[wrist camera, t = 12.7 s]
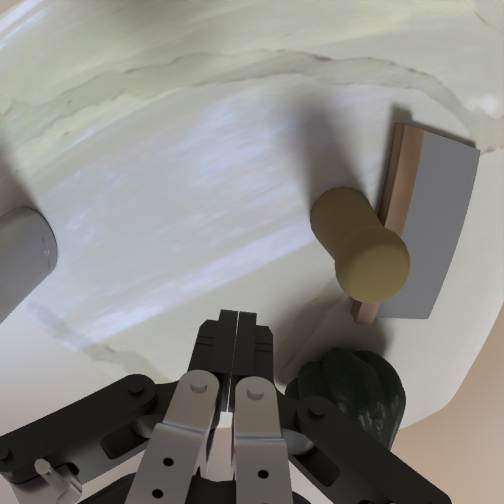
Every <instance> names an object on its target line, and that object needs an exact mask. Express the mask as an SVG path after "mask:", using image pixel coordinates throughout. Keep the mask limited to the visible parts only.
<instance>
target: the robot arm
mask: <svg viewBox="0 0 504 504" xmlns="http://www.w3.org/2000/svg"><path fill="white" fill-rule="evenodd" d="M56 262H57V246H56V242H55V238H54V236H53V233H52V231H51V229H50V227H49V226H48V224H47V223H46V221H45V220H44V219H43V217H42V216H40V215H39V214H38V213H37V212H36V211H34V210H32V209H30V208H27V207H19V208H16V209H14V210H12V211H10V212H9V213H7V214H5V215H3V216H2V217H0V324H1V323H2V322H3V321H4V320H5V319H6V318H7V316H8V315H9V314H10V313H11V312H12V311H13V310H14V309H15V308H16V307H17V306H18V305H19V304H20V303H21V302H22V301H23V300H24V298H26V297H27V296H28V295H29V294H30V293H31V292H32V291H33V290H34V289H35V288H36V287H37V286H38V285H39V284H40V283H41V282H42V281H43V280H44V279H45V278H46V277H47V276H48V275H49V274H50V273H51V272H52V271H53V270H54V268H55V266H56ZM256 317H257V313H250V312H241V311H240V312H239V319H238V311H232V310H224V309H221V311H220V316H219V320H218V321H215V320H206V321H205V322H204V323H203V324H202V325H201V326H200V328H199V332H198V335H197V339H196V342H195V346H194V349H193V353H192V357H191V360H190V364H189V367H188V371H187V373H185V374H184V375H183V376H182V377H181V378H180V380H178V381H175V382H172V383H165V384H155V383H154V382H153V380H152V379H150V378H149V377H147V376H145V375H141V374H132V375H128V376H126V377H124V378H122V379H120V380H118V381H116V382H114V383H112V384H110V385H108V386H107V387H105V388H103V389H101V390H99V391H97V392H95V393H93V394H91V395H89V396H87V397H85V398H83V399H81V400H79V401H76V402H74V403H72V404H70V405H68V406H66V407H64V408H62V409H60V410H58V411H56V412H54V413H52V414H49V415H47V416H45V417H43V418H41V419H38V420H36V421H34V422H32V423H30V424H28V425H26V426H23V427H21V428H19V429H16V430H14V431H12V432H9V433H7V434H5V435H3V436H0V474H1V475H3V477H4V478H5V479H6V480H7V481H8V482H9V483H10V484H11V487H12V489H13V491H14V493H15V495H16V497H17V499H18V501H19V503H20V504H74V503H76V502H77V501H78V500H79V499H80V497H81V495H82V485H83V484H85V483H87V482H89V481H91V480H92V479H94V478H96V477H98V476H100V475H102V474H104V473H105V472H107V471H109V470H111V469H112V468H114V467H116V466H118V465H120V464H121V463H123V462H125V461H126V460H128V459H130V458H131V457H133V456H135V455H136V454H138V453H140V452H141V451H143V450H145V449H146V450H145V453H144V455H143V457H142V460H141V463H140V465H139V468H138V470H137V472H135V473H131V474H128V475H126V476H124V477H121V478H120V479H118V480H116V481H115V482H113V483H112V484H110V485H108V486H107V487H105V488H103V489H102V490H100V491H98V492H97V493H95V494H93V495H91V496H90V497H88V498H86V499H84V500H83V501H81V502H79V503H78V504H311V503H310V502H309V501H308V500H306V499H305V498H304V497H302V496H301V495H299V494H298V493H295V492H293V491H292V488H291V479H290V471H289V462H288V460H289V461H290V462H291V463H292V464H293V465H294V466H295V467H296V468H297V469H298V470H299V471H300V472H301V473H302V474H303V475H304V476H305V477H306V478H307V479H308V480H309V481H311V483H312V484H313V485H315V486H316V487H317V488H318V489H319V490H320V491H321V492H322V493H323V494H324V495H325V496H326V497H327V498H328V499H329V500H331V501H332V502H333V503H334V504H452V502H451V500H450V498H449V497H448V495H447V494H445V493H444V492H443V491H441V490H440V489H439V488H437V487H436V486H434V485H433V484H432V483H430V482H429V481H428V480H426V479H425V478H424V477H422V476H421V475H420V474H419V473H417V472H416V471H415V470H413V469H412V468H411V467H409V466H408V465H407V464H406V463H404V462H403V461H402V460H400V459H399V458H398V457H397V456H395V455H394V454H393V453H392V452H390V451H389V450H388V449H387V448H385V447H384V446H383V445H382V444H381V443H379V442H378V441H377V440H376V439H374V438H373V437H372V436H371V435H370V434H368V433H367V432H366V431H365V430H364V429H362V428H361V427H360V426H359V425H358V424H356V423H355V422H354V421H353V420H352V419H351V418H349V417H348V416H347V415H346V414H345V413H344V412H342V411H341V410H340V409H339V408H338V407H337V406H335V405H334V404H333V403H332V402H331V401H329V400H328V399H326V398H324V397H320V396H309V397H306V398H304V399H303V400H301V401H299V400H296V399H292V398H289V397H287V396H285V395H283V394H282V393H281V392H279V391H278V389H277V388H276V386H275V384H274V379H273V334H272V332H271V331H270V329H269V327H268V326H260V325H256ZM237 319H238V327H237ZM236 329H237V335H236ZM235 340H236V342H235ZM234 349H235V350H234ZM232 364H233V365H232ZM230 379H231V383H230ZM229 387H230V395H229ZM228 395H229V406H228V412H232V413H233V417H232V426H231V472H230V481H221V482H214V481H211V480H208V479H206V475H207V468H208V463H209V460H210V455H211V451H212V447H213V443H214V439H215V435H216V431H217V426H218V424H219V420H220V413H221V411H223V412H226V410H227V402H228Z"/></svg>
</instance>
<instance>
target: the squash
mask: <svg viewBox="0 0 504 504" xmlns="http://www.w3.org/2000/svg"><path fill="white" fill-rule="evenodd" d="M285 396H287V397H289V398H292V399H296V400H299V401H301V400H303V399H304V398H306V397H309V396H320V397H324V398H326V399H328V400H329V401H331V402H332V403H333V404H334V405H335V406H337V407H338V408H339V409H340V410H341V411H342V412H344V413H345V414H346V415H347V416H348V417H349V418H351V419H352V420H353V421H354V422H355V423H356V424H358V425H359V426H360V427H361V428H362V429H364V430H365V431H366V432H367V433H368V434H370V435H371V436H372V437H373V438H374V439H376V440H377V441H378V442H379V443H381V444H382V445H383V446H384V447H385V448H387V449H388V450H389V451H390V449H391V447H392V444H393V441H394V439H395V436H396V434H397V431H398V428H399V426H400V423H401V420H402V417H403V414H404V410H405V406H406V396H405V391H404V388H403V387H402V383H401V380H400V378H399V376H398V374H397V372H396V371H395V369H394V368H393V367H392V365H391V364H390V363H389V362H388V361H386V360H385V359H384V358H382V357H381V356H379V355H377V354H375V353H373V352H370V351H358V352H354V353H351V352H349V351H348V350H346V349H343V348H335V349H332V350H331V351H329V352H328V353H327V354H326V355H325V356H324V358H323V360H322V364H320V363H318V362H309V363H306V364H305V365H303V366H302V367H301V369H300V372H299V374H298V377H297V378H295V379H294V380H292V381H291V382H290V383H289V384H288V386H287V387H286V389H285Z"/></svg>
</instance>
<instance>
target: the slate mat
mask: <svg viewBox="0 0 504 504" xmlns="http://www.w3.org/2000/svg"><path fill="white" fill-rule="evenodd" d="M480 151H481V150H478V149H476V148H473V147H470V146H468V145H465V144H462V143H460V142H457V141H454V140H451V139H448V138H446V137H443V136H440V135H437V134H434V133H430V132H427V131H424V136H423V142H422V148H421V154H420V159H419V164H418V169H417V174H416V179H415V184H414V188H413V193H412V197H411V201H410V206H409V210H408V214H407V218H406V221H405V225H404V229H403V233H402V236H401V239H402V240H403V242H404V243H405V244H406V247H407V250H408V252H409V255H410V271H409V274H408V277H407V281H406V282H405V284H404V285H403V287H402V288H401V290H399V291H398V292H397V293H396V294H395V295H394V296H393V297H391V298H389V299H387V300H385V301H382V302H380V305H379V308H378V311H377V313H376V316H375V317H380V318H407V319H428V318H429V315H430V313H431V311H432V309H433V306H434V304H435V302H436V299H437V297H438V294H439V292H440V290H441V287H442V285H443V282H444V279H445V277H446V274H447V271H448V269H449V266H450V263H451V260H452V258H453V255H454V252H455V249H456V246H457V243H458V240H459V236H460V233H461V230H462V227H463V223H464V220H465V216H466V213H467V209H468V205H469V202H470V198H471V194H472V189H473V185H474V181H475V176H476V171H477V167H478V162H479V156H480Z"/></svg>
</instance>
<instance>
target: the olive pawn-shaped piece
mask: <svg viewBox="0 0 504 504" xmlns="http://www.w3.org/2000/svg"><path fill="white" fill-rule="evenodd" d="M310 223H311V228H312V231H313V233H314V234H315V236H316V238H317V239H318V240H319V242H320V243H321V244H322V245H323V246H324V248H325V249H326V250H327V251H328V253H329V254H330V255H331V256H332V258H333V259H334V260H335V271H336V277H337V280H338V282H339V284H340V286H341V287H342V289H343V290H344V291H345V292H346V293H347V294H348V295H349V296H350V297H352V298H353V299H355V300H358V301H360V302H364V303H378V302H382V301H385V300H387V299H389V298H391V297H393V296H394V295H395V294H396V293H397V292H398V291H399V290H401V288H402V287H403V285H404V284H405V282H406V281H407V277H408V274H409V271H410V255H409V252H408V250H407V247H406V244H405V243H404V242H403V240H402V239H401V238H400V237H399V236H398V235H397V234H396V233H395V232H393V231H391V230H389V229H387V228H385V227H383V226H382V224H381V222H380V221H379V219H378V217H377V215H376V213H375V212H374V210H373V208H372V207H371V205H370V203H369V201H368V200H367V198H366V197H365V196H364V195H363V194H362V193H361V192H359V191H357V190H355V189H353V188H347V187H339V188H334V189H331V190H329V191H327V192H325V193H324V194H322V195H321V196H320V198H319V199H318V200H317V201H316V202H315V204H314V206H313V208H312V210H311V217H310Z"/></svg>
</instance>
